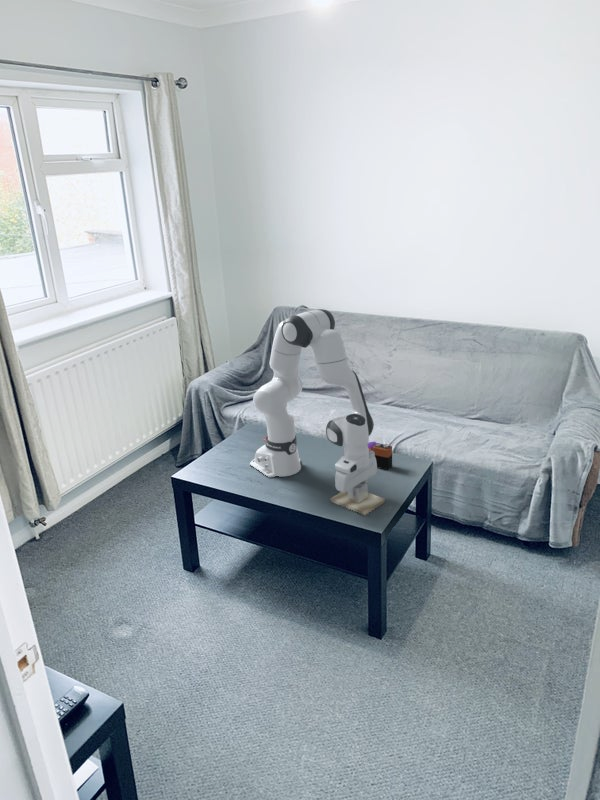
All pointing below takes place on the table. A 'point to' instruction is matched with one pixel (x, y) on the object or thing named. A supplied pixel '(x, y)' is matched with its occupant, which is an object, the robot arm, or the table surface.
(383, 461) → the battery
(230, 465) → the table surface
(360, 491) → the brushed metal cube
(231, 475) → the table surface
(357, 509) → the holder
